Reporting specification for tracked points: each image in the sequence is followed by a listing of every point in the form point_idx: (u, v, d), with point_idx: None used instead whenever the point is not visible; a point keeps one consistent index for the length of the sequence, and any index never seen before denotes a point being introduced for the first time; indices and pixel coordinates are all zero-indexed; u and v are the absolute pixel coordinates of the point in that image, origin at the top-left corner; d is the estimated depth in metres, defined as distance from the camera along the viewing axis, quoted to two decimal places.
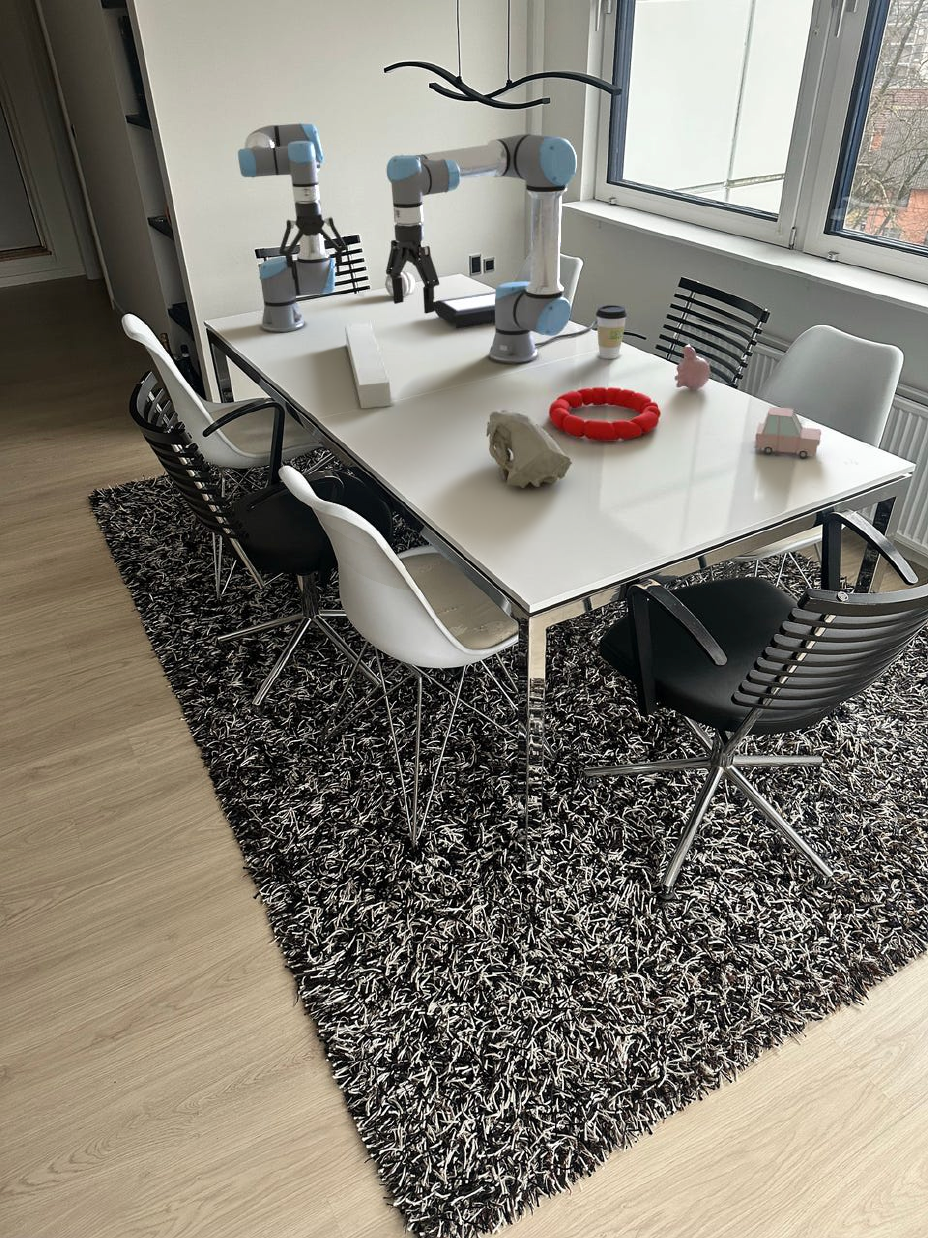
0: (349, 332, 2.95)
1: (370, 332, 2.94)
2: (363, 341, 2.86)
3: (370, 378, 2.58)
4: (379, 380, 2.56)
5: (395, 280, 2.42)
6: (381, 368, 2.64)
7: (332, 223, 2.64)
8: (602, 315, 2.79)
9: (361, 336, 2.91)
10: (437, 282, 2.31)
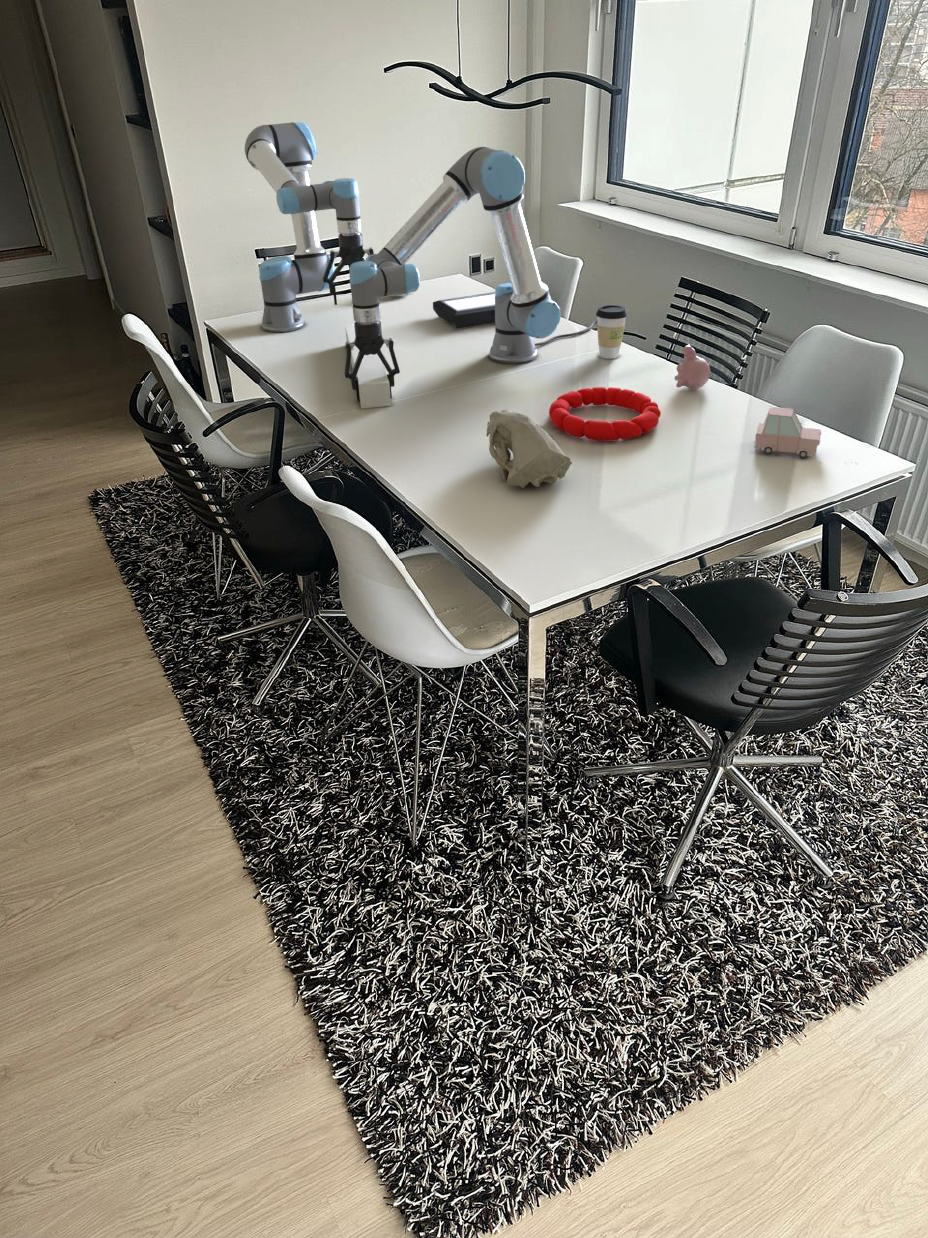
0: (349, 332, 2.95)
1: None
2: None
3: (370, 378, 2.58)
4: (379, 380, 2.56)
5: None
6: (381, 368, 2.64)
7: (372, 253, 2.84)
8: (602, 315, 2.79)
9: None
10: None
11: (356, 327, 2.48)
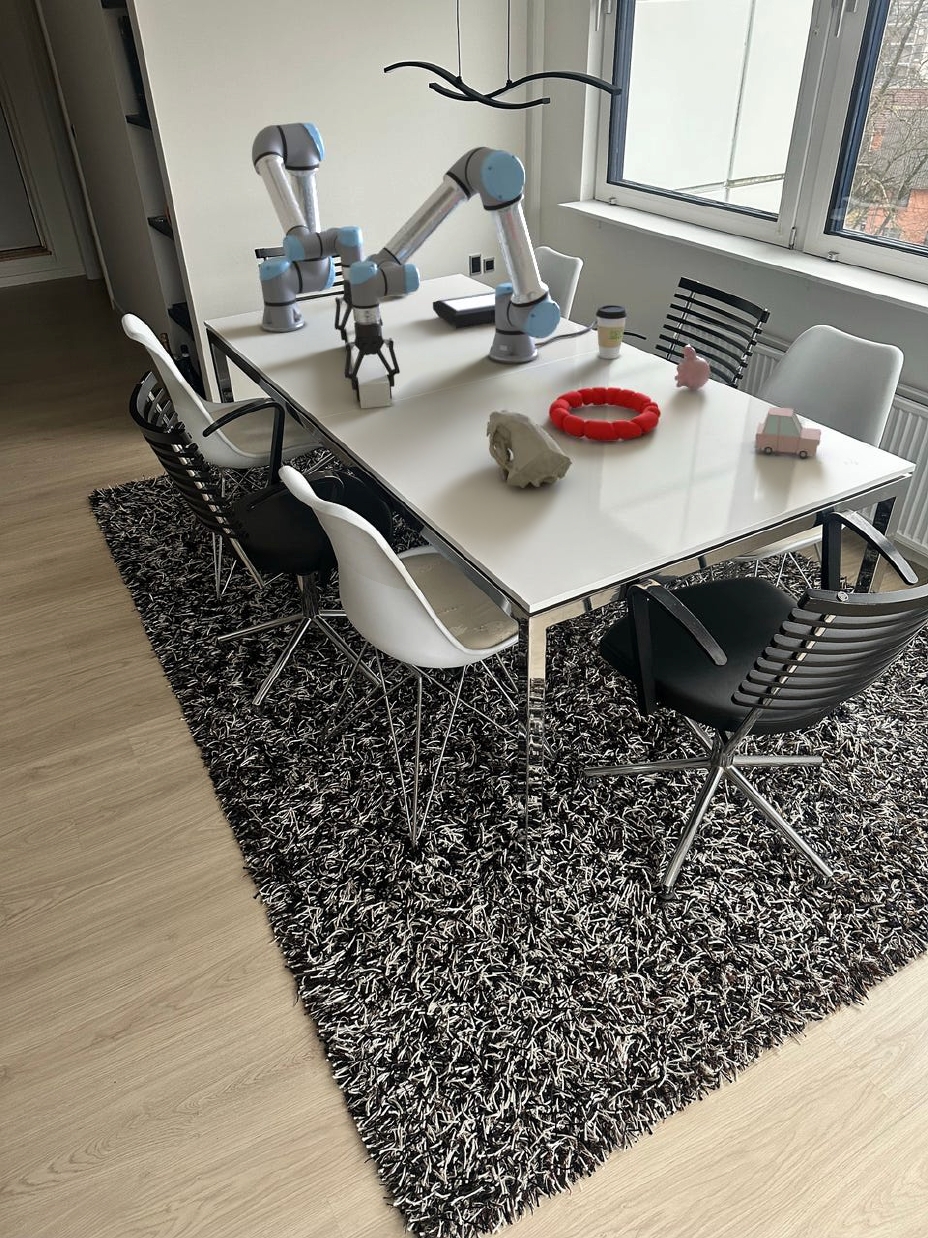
0: (349, 332, 2.95)
1: None
2: None
3: (370, 378, 2.58)
4: (379, 380, 2.56)
5: None
6: (381, 368, 2.64)
7: None
8: (602, 315, 2.79)
9: None
10: None
11: (356, 327, 2.48)
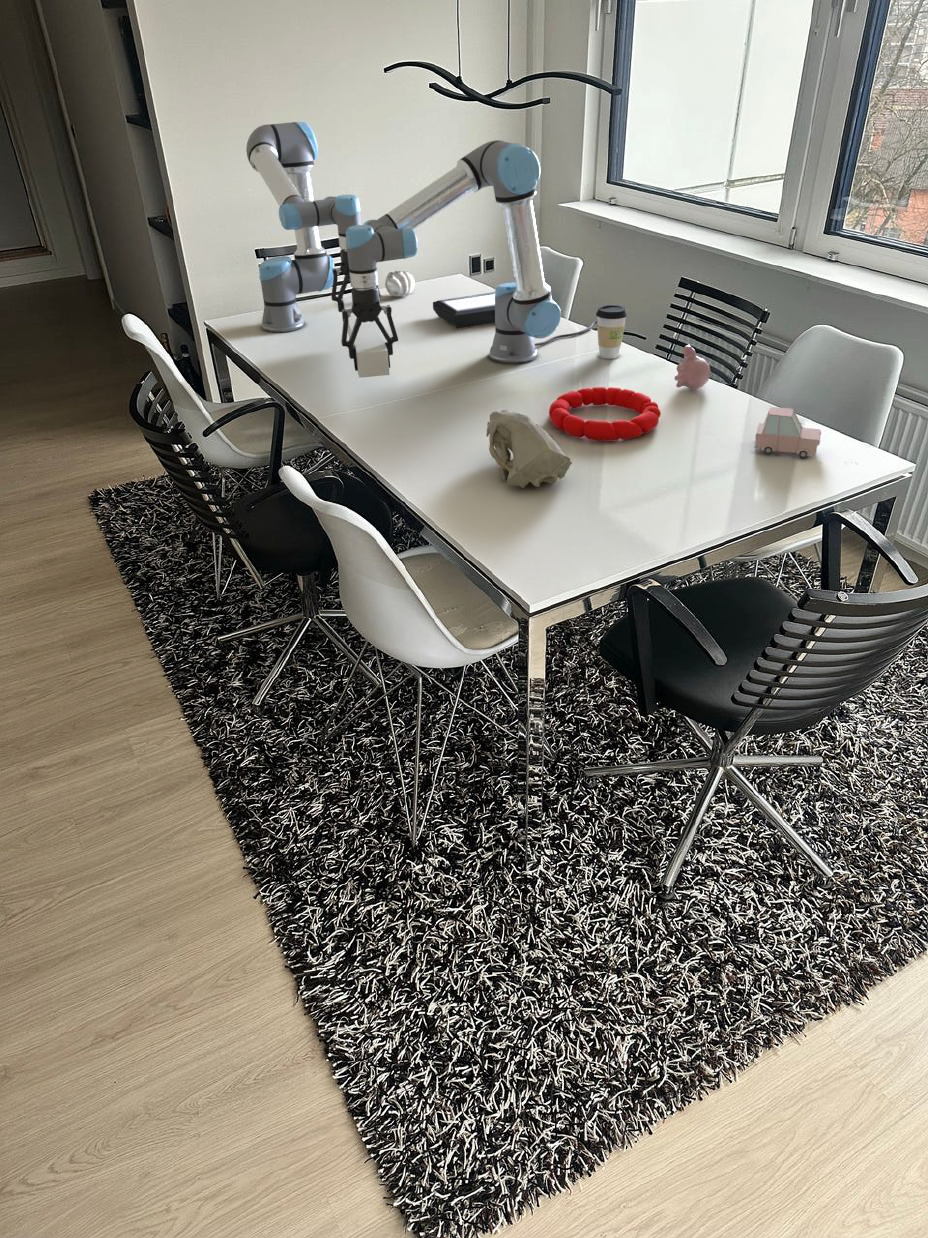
0: (346, 304, 2.90)
1: None
2: None
3: (368, 346, 2.53)
4: (378, 348, 2.51)
5: (355, 349, 2.52)
6: (379, 337, 2.59)
7: None
8: (602, 315, 2.79)
9: None
10: None
11: (353, 293, 2.43)
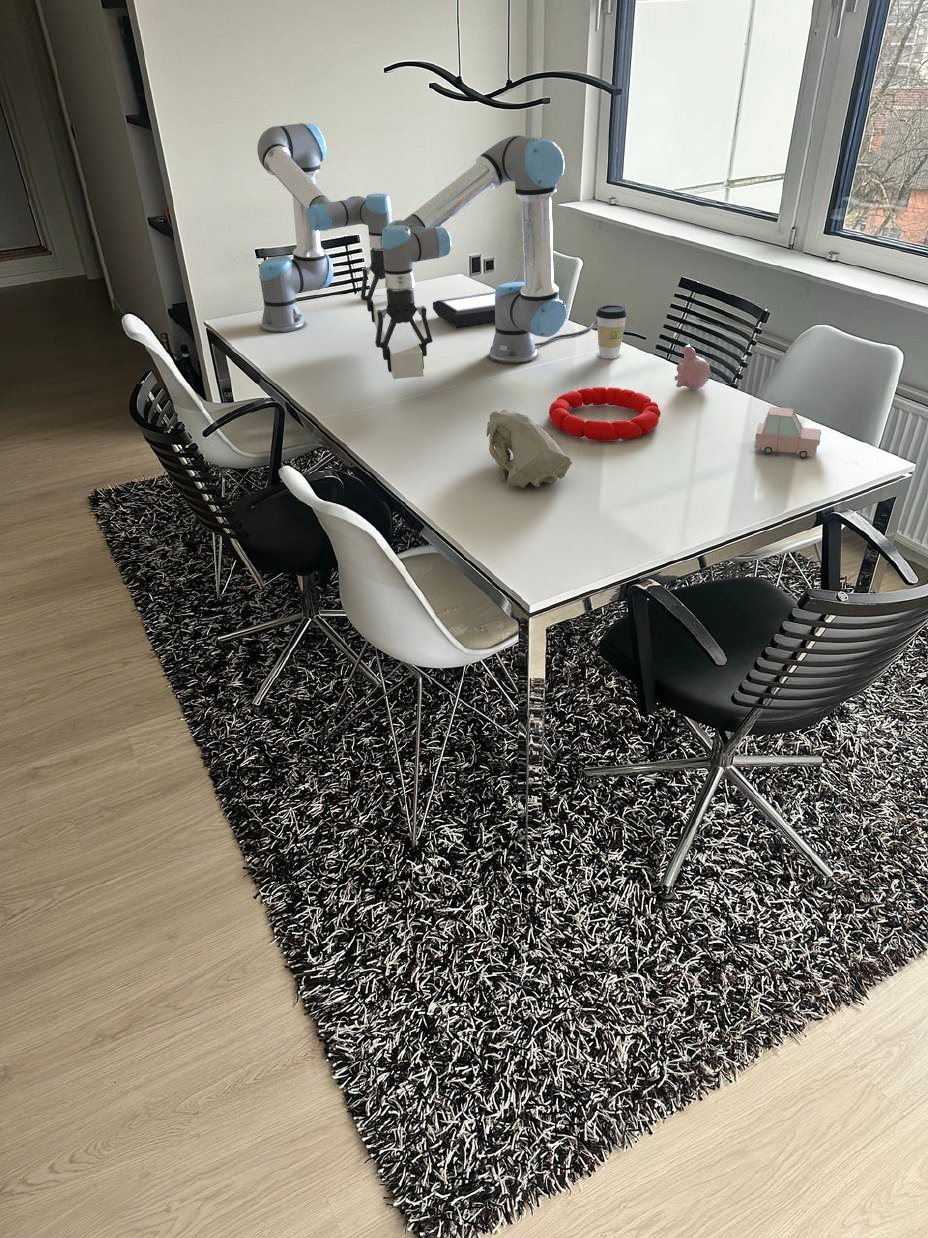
0: (376, 303, 2.88)
1: None
2: None
3: (402, 347, 2.51)
4: (412, 349, 2.49)
5: (389, 350, 2.51)
6: (413, 338, 2.58)
7: None
8: (602, 315, 2.79)
9: None
10: None
11: (388, 294, 2.42)
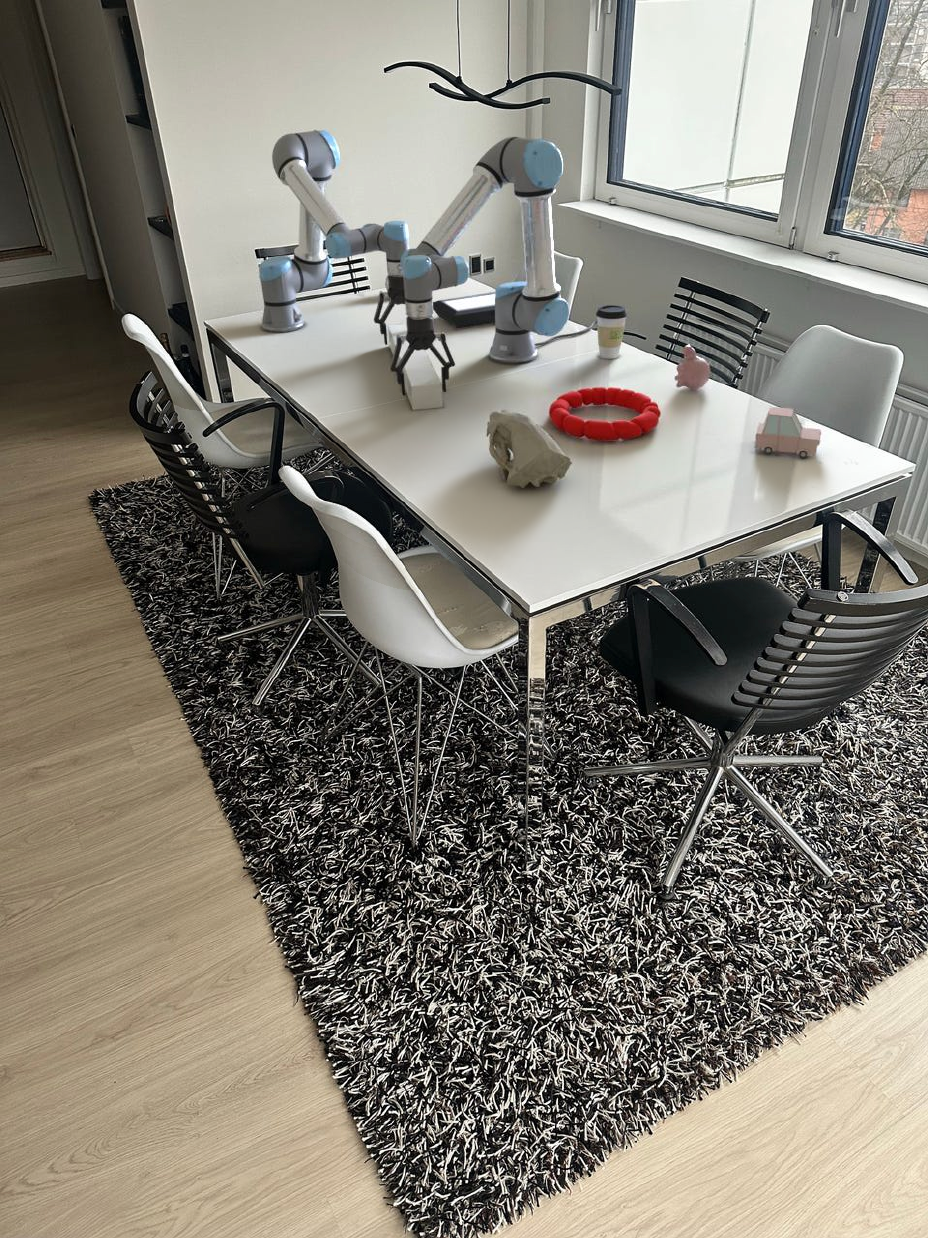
0: (393, 333, 2.93)
1: None
2: None
3: (422, 379, 2.56)
4: (431, 381, 2.54)
5: (403, 374, 2.54)
6: (431, 369, 2.62)
7: None
8: (602, 315, 2.79)
9: None
10: None
11: (408, 322, 2.45)
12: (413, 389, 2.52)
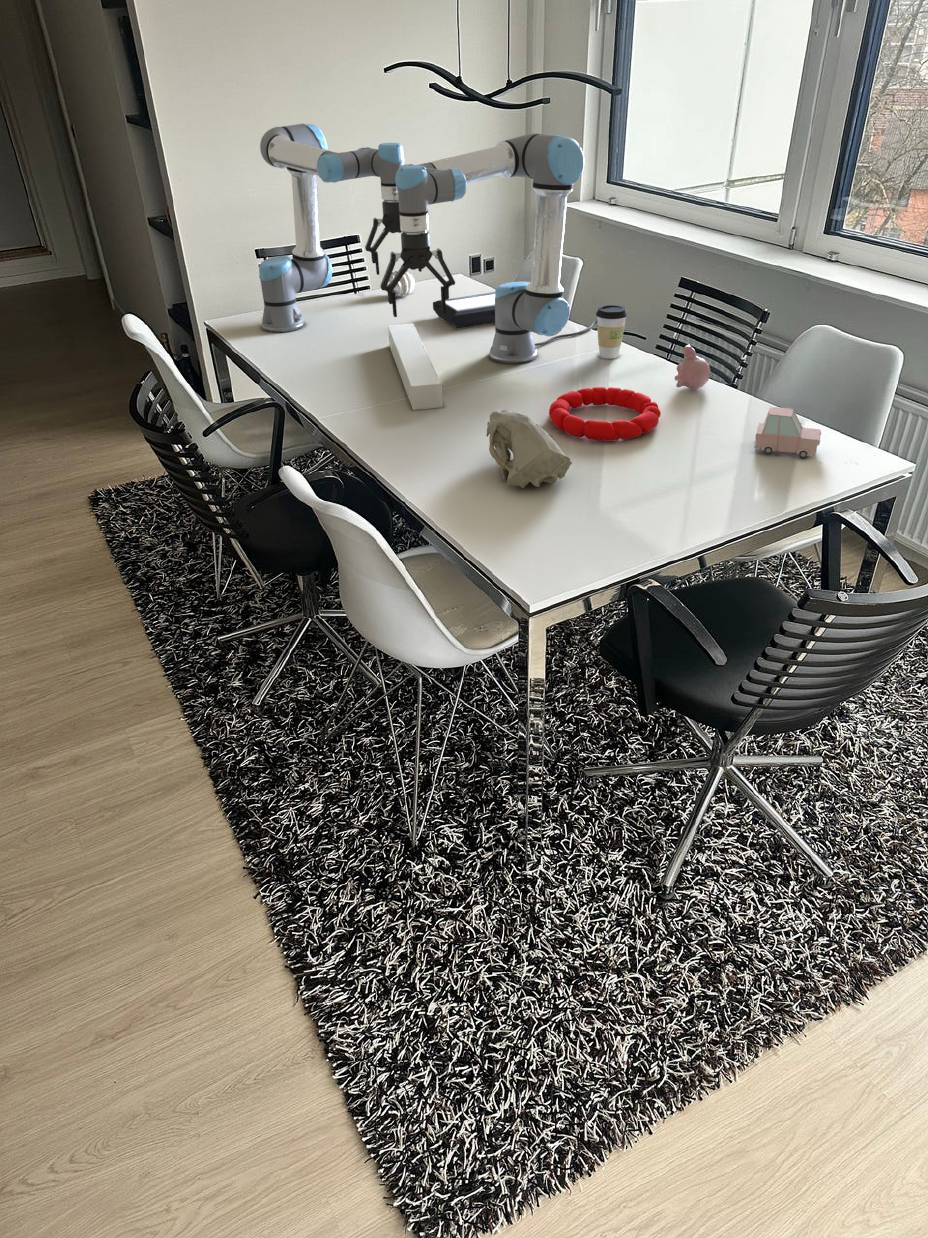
0: (393, 333, 2.93)
1: (415, 333, 2.92)
2: (409, 342, 2.84)
3: (422, 379, 2.56)
4: (431, 381, 2.54)
5: None
6: (431, 369, 2.62)
7: None
8: (602, 315, 2.79)
9: (406, 337, 2.89)
10: None
11: (403, 238, 2.33)
12: (413, 389, 2.52)
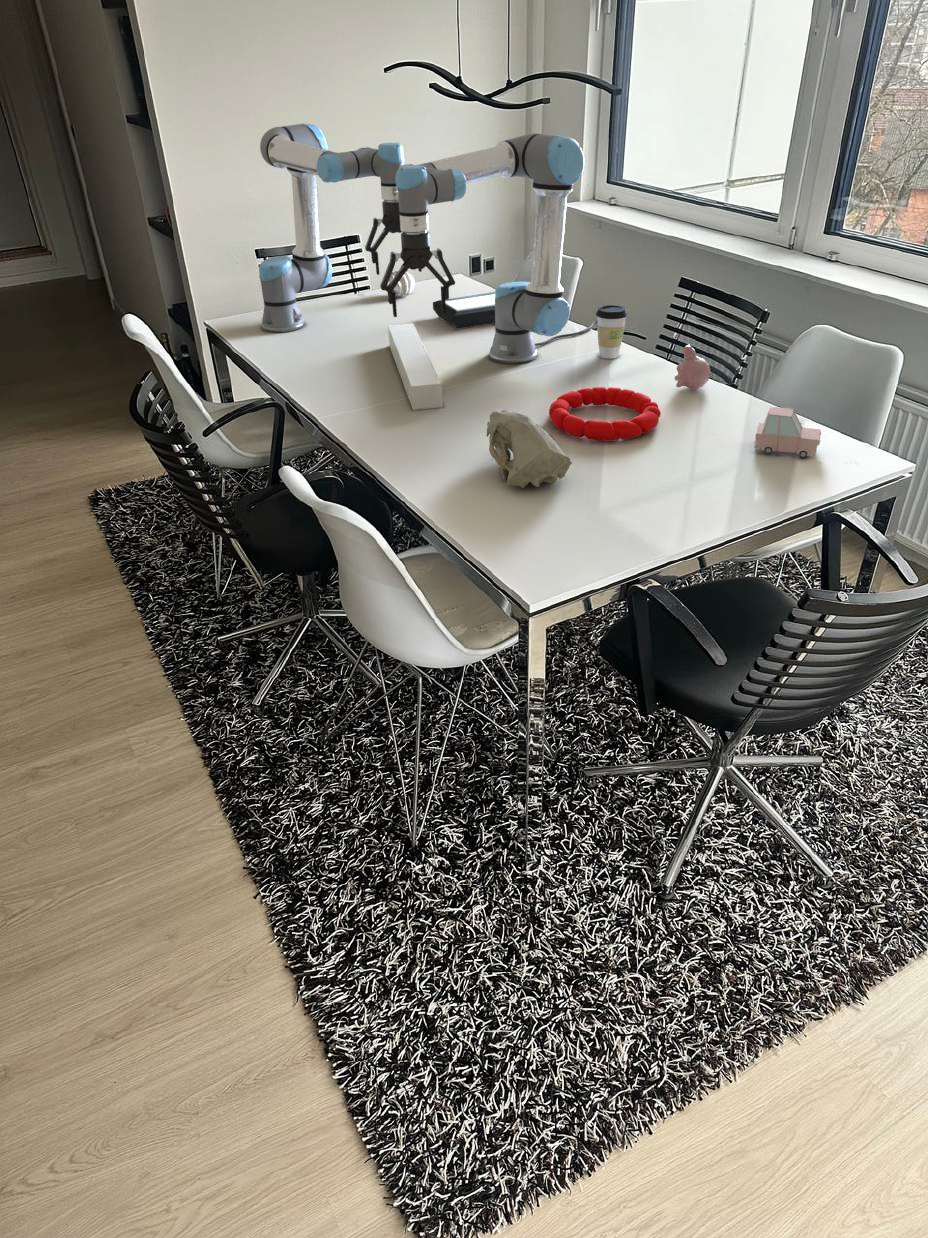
0: (393, 333, 2.93)
1: (415, 333, 2.92)
2: (409, 342, 2.84)
3: (422, 379, 2.56)
4: (431, 381, 2.54)
5: None
6: (431, 369, 2.62)
7: None
8: (602, 315, 2.79)
9: (406, 337, 2.89)
10: None
11: (403, 237, 2.33)
12: (413, 389, 2.52)
